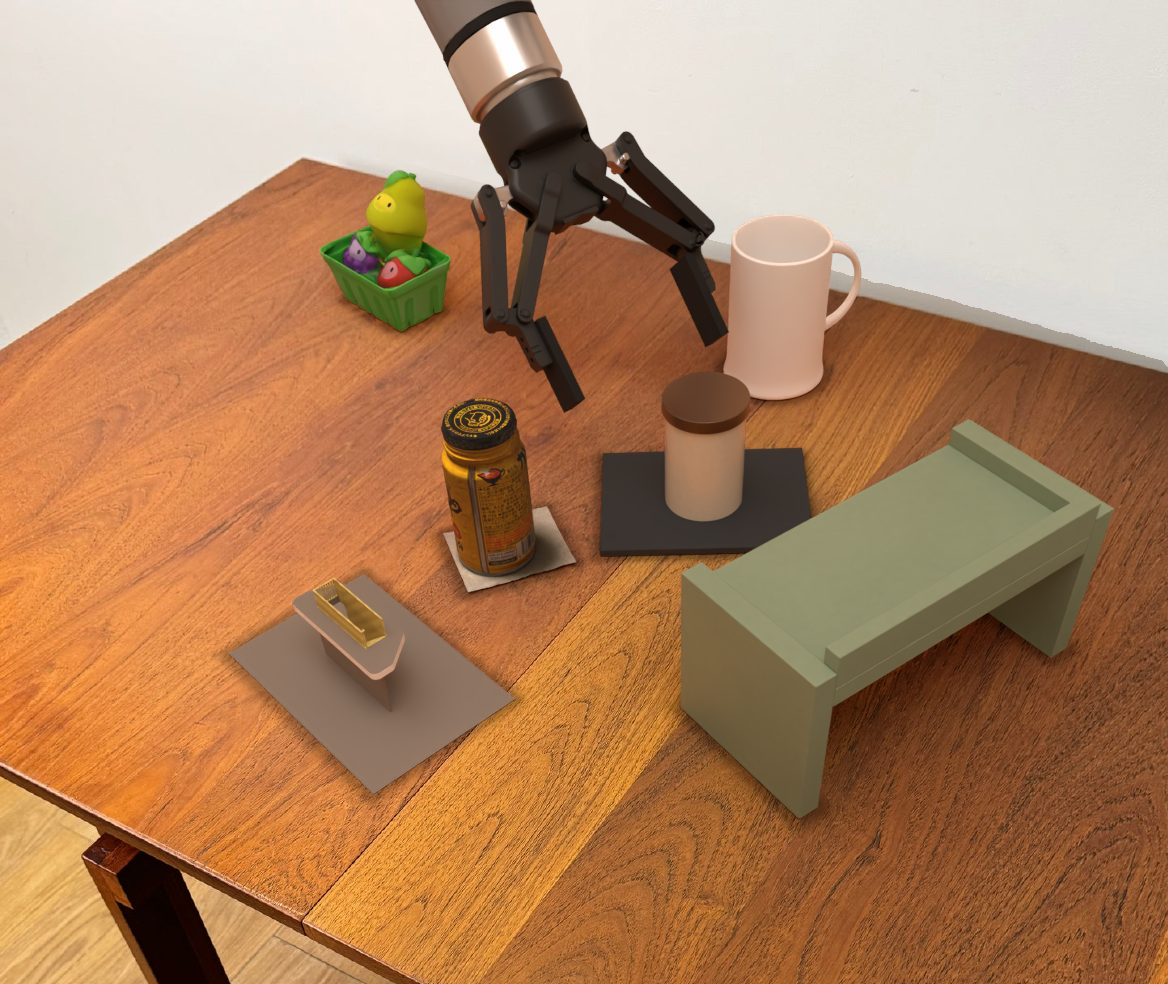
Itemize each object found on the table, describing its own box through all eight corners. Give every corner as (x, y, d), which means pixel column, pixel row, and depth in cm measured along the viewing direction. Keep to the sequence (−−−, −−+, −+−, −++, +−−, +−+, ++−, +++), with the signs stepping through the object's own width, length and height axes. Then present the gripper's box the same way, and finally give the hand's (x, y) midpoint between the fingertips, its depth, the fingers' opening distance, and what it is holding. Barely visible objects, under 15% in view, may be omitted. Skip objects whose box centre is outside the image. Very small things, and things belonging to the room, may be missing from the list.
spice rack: (939, 557, 92) (972, 402, 82) (1066, 648, 86) (1120, 491, 76) (679, 707, 85) (680, 556, 74) (799, 819, 78) (817, 671, 68)
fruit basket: (326, 299, 120) (298, 181, 111) (399, 263, 124) (378, 146, 115) (398, 344, 115) (375, 223, 106) (472, 305, 118) (456, 185, 109)
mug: (835, 329, 112) (850, 196, 103) (874, 381, 107) (893, 246, 98) (710, 355, 111) (713, 223, 101) (743, 409, 105) (750, 274, 96)
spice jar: (742, 470, 99) (748, 369, 92) (747, 522, 95) (752, 421, 88) (662, 472, 100) (661, 372, 93) (662, 524, 96) (661, 424, 89)
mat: (801, 453, 101) (802, 447, 101) (814, 551, 94) (814, 545, 93) (603, 458, 102) (603, 452, 102) (600, 556, 95) (599, 550, 94)
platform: (364, 573, 95) (346, 504, 90) (515, 698, 86) (505, 629, 81) (228, 653, 90) (201, 585, 85) (373, 794, 81) (353, 727, 76)
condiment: (443, 535, 97) (418, 401, 88) (547, 508, 99) (533, 373, 89) (468, 594, 93) (445, 460, 83) (576, 565, 94) (566, 430, 85)
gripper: (635, 79, 100) (749, 330, 103) (361, 179, 91) (495, 448, 95) (677, 25, 93) (797, 296, 96) (384, 128, 84) (528, 421, 88)
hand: (647, 372), depth 96 cm, fingers open, 13 cm apart
